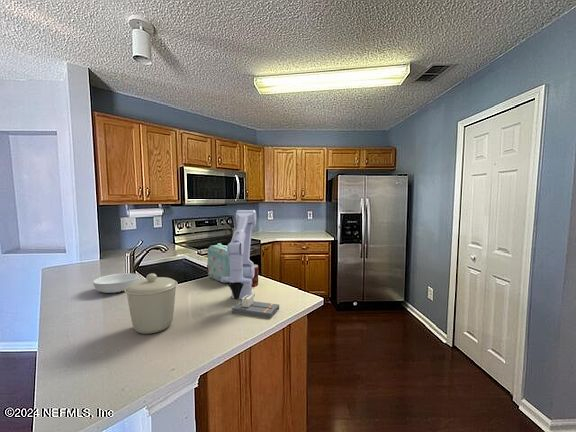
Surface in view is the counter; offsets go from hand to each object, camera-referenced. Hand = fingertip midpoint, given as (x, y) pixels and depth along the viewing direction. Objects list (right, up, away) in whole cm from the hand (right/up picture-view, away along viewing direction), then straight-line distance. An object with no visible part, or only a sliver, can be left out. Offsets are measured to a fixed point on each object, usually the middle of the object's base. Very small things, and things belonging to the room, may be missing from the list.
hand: (236, 298), depth 123 cm
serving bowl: (-70, -4, +26) cm, 75 cm away
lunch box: (-17, -2, +44) cm, 48 cm away
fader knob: (+5, -2, -2) cm, 6 cm away
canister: (-29, -6, -17) cm, 34 cm away
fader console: (+9, -5, -3) cm, 10 cm away
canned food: (+2, -2, +33) cm, 33 cm away
